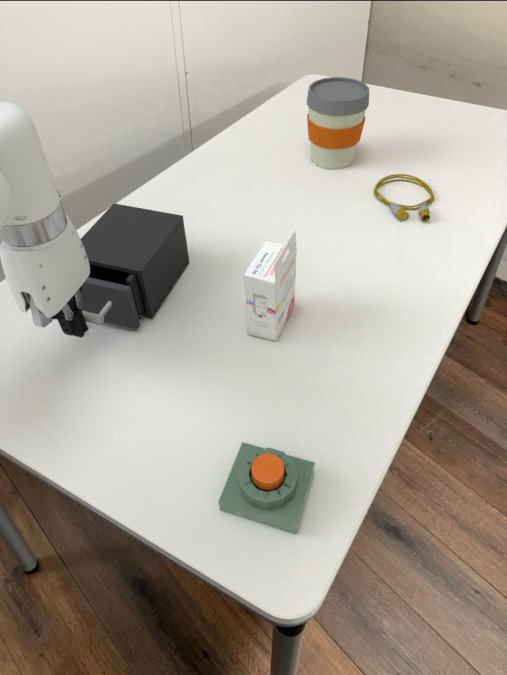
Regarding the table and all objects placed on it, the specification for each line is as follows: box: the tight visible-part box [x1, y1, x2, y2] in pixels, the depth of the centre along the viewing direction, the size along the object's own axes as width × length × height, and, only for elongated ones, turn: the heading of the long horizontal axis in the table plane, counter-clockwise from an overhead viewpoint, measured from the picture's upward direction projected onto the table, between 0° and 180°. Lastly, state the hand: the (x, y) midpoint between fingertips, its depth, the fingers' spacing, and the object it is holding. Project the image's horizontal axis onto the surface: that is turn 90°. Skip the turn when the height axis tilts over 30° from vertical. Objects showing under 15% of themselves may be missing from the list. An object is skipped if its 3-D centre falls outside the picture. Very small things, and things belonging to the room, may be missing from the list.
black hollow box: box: [80, 203, 190, 320], centre depth 82 cm, size 15×13×10 cm
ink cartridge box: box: [243, 230, 298, 342], centre depth 73 cm, size 9×5×15 cm, turn 158°
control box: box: [218, 441, 316, 535], centre depth 58 cm, size 9×8×4 cm
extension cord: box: [373, 173, 435, 222], centre depth 100 cm, size 12×16×2 cm
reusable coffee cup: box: [306, 76, 370, 170], centre depth 107 cm, size 13×13×15 cm
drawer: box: [80, 264, 146, 331], centre depth 78 cm, size 18×11×8 cm, turn 161°
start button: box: [251, 454, 284, 490], centre depth 56 cm, size 4×4×2 cm
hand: (76, 331), depth 71 cm, fingers closed
